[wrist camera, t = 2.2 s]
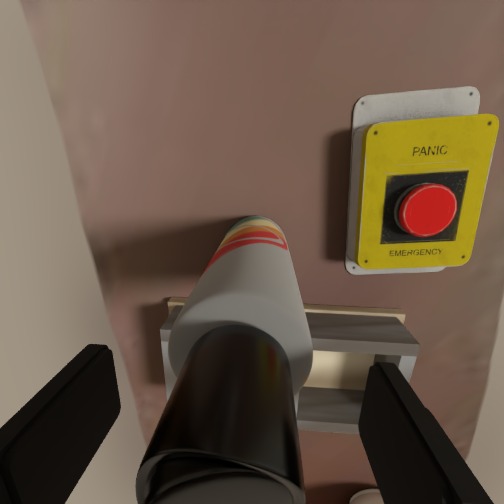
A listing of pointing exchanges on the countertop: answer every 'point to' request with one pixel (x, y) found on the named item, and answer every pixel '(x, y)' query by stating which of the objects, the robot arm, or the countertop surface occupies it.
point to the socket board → (333, 360)
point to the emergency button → (417, 179)
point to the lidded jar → (367, 497)
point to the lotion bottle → (234, 381)
